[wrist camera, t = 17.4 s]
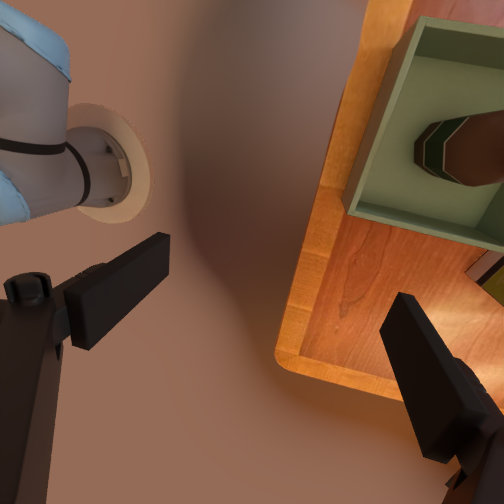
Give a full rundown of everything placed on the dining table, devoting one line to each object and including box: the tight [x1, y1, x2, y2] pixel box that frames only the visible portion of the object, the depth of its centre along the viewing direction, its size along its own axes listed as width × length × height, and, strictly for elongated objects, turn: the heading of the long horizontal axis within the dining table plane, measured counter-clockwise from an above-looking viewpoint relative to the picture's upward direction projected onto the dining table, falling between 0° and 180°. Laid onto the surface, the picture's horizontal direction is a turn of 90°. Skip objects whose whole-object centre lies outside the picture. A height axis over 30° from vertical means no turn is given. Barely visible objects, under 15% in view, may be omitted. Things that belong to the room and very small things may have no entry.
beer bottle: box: [414, 110, 504, 187], centre depth 27 cm, size 8×8×24 cm
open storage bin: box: [341, 16, 504, 253], centre depth 34 cm, size 22×22×10 cm
